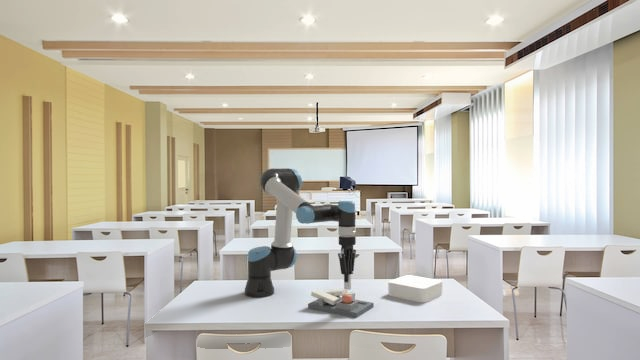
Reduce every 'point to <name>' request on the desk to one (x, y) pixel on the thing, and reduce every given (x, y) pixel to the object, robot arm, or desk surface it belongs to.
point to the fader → (352, 295)
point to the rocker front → (325, 297)
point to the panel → (342, 307)
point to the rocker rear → (336, 292)
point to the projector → (415, 288)
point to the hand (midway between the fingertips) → (347, 288)
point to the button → (347, 298)
